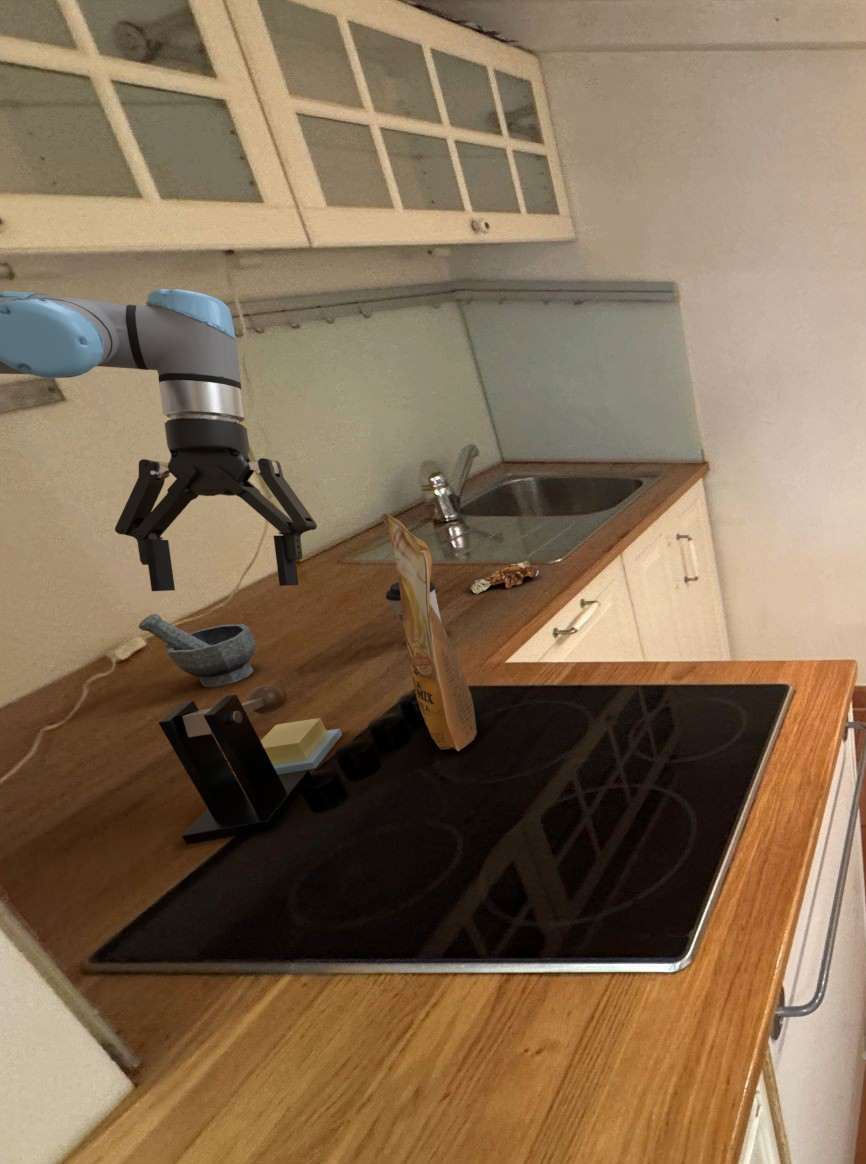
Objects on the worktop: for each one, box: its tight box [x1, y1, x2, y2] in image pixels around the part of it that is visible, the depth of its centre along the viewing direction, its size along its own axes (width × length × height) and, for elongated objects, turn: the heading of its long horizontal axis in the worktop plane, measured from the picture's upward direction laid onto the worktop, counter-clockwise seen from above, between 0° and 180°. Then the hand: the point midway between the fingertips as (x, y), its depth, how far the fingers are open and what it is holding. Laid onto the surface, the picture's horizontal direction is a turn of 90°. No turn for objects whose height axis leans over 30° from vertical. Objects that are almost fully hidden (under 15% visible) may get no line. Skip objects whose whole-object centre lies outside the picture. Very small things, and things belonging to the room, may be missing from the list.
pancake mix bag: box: [380, 512, 478, 752], centre depth 99 cm, size 7×19×28 cm, turn 38°
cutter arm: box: [182, 684, 288, 737], centre depth 89 cm, size 14×4×4 cm, turn 15°
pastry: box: [469, 560, 540, 595], centre depth 150 cm, size 7×12×4 cm, turn 138°
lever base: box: [158, 694, 313, 845], centre depth 86 cm, size 10×8×14 cm
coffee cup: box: [385, 581, 442, 628], centre depth 127 cm, size 7×7×10 cm
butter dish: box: [260, 717, 343, 775], centre depth 98 cm, size 7×8×4 cm
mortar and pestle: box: [137, 613, 256, 688], centre depth 116 cm, size 11×9×12 cm
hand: (227, 588), depth 99 cm, fingers open, 13 cm apart
